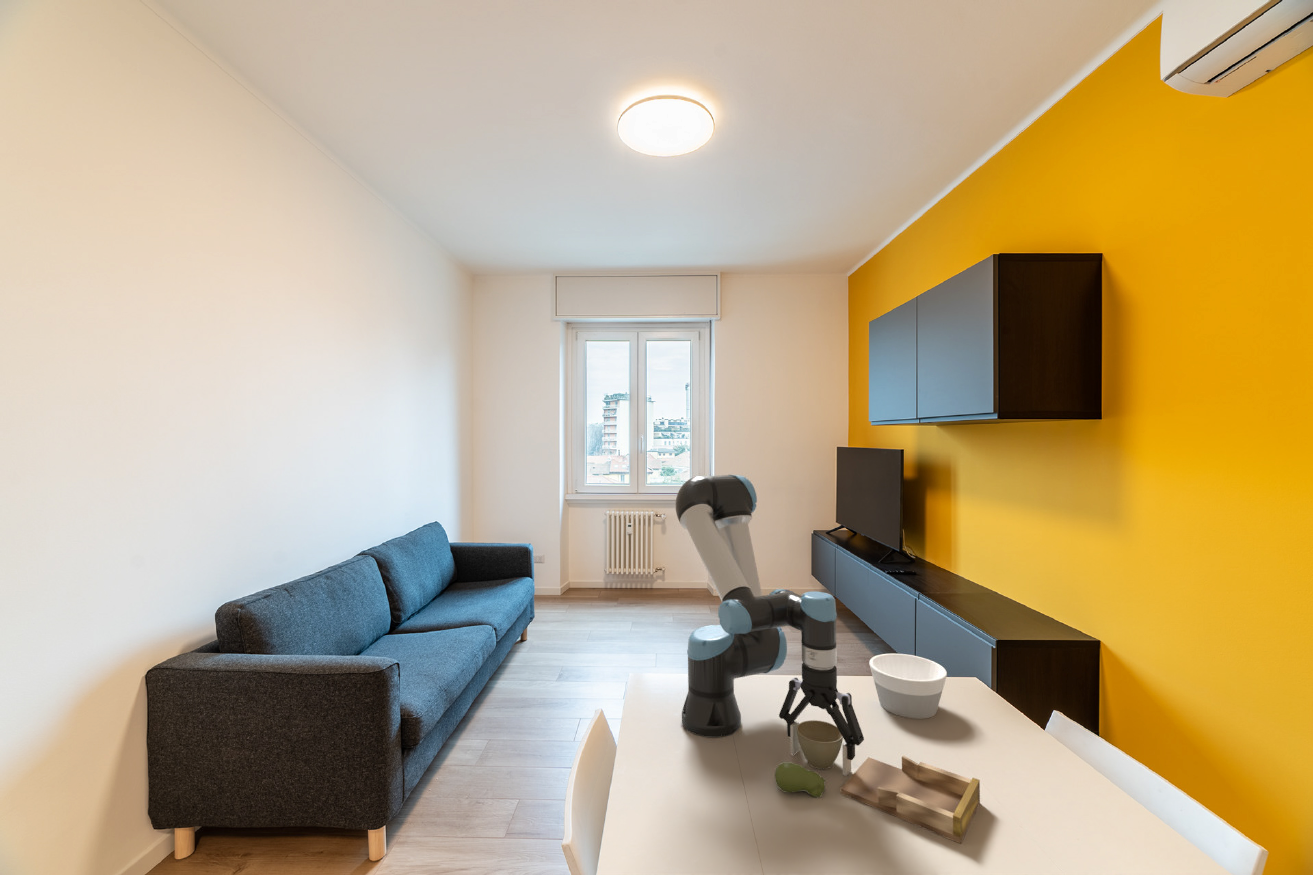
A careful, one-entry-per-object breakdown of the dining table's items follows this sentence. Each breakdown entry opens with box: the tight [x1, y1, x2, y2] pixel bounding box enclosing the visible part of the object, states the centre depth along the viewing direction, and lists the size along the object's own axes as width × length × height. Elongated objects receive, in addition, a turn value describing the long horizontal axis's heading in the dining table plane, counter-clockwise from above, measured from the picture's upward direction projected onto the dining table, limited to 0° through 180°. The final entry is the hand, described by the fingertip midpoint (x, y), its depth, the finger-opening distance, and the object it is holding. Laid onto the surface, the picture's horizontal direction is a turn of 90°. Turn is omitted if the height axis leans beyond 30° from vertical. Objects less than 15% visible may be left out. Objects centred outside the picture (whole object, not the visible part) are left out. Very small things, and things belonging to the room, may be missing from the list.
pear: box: [774, 761, 826, 798], centre depth 115 cm, size 6×5×10 cm
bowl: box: [868, 653, 948, 720], centre depth 152 cm, size 19×19×11 cm
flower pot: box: [796, 719, 844, 770], centre depth 125 cm, size 10×10×7 cm
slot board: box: [840, 755, 981, 845], centre depth 112 cm, size 22×15×4 cm
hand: (820, 762), depth 125 cm, fingers open, 12 cm apart
